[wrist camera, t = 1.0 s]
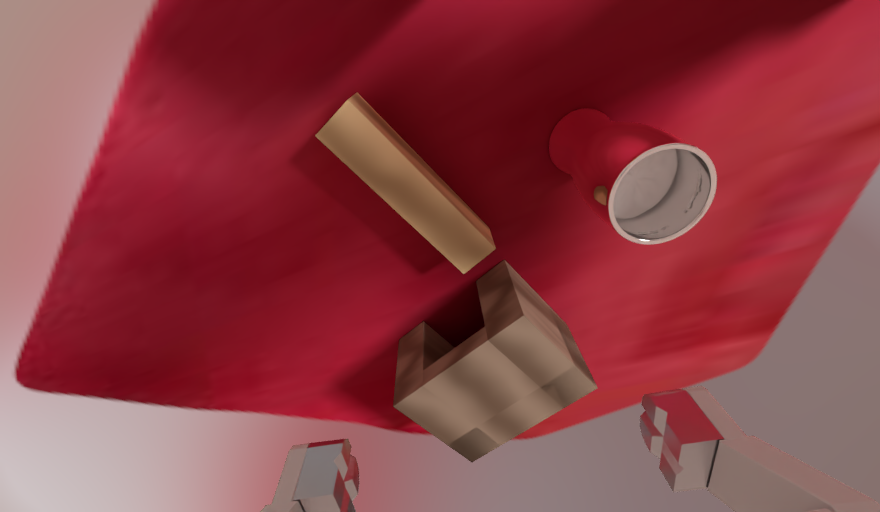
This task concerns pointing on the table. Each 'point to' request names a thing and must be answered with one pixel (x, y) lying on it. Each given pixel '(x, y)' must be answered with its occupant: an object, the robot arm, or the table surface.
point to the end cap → (491, 370)
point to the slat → (406, 183)
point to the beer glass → (634, 175)
